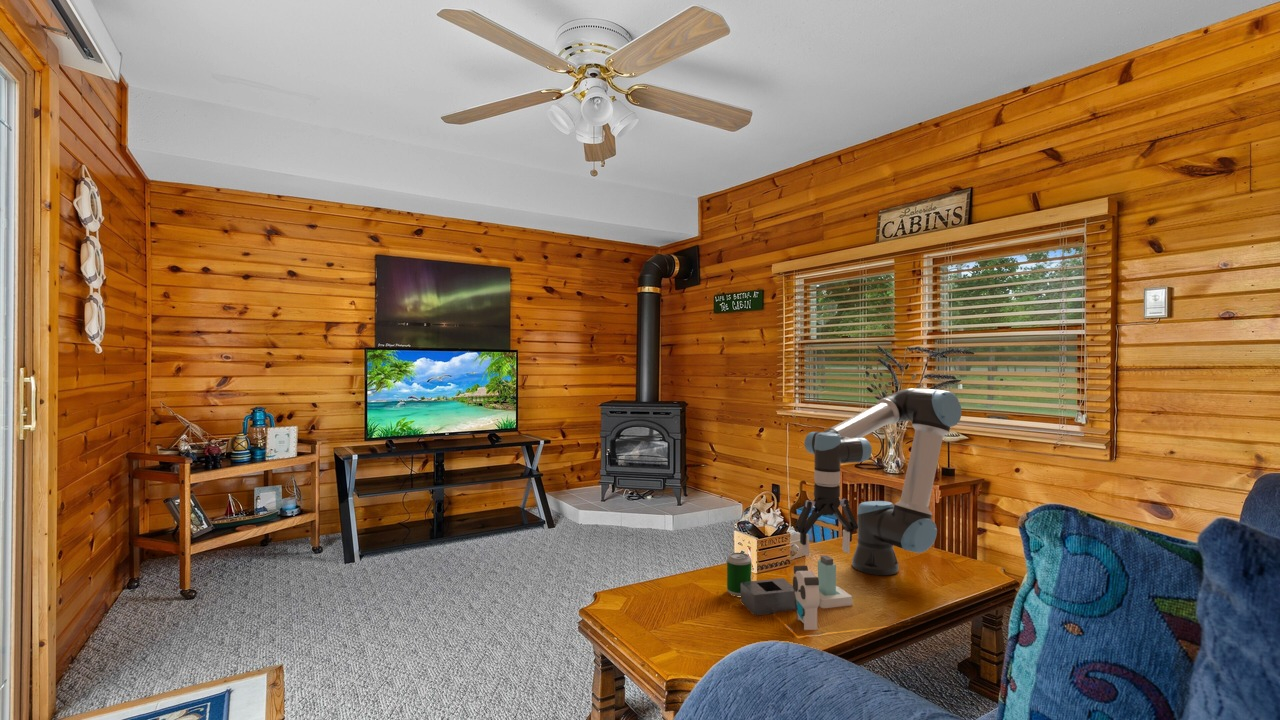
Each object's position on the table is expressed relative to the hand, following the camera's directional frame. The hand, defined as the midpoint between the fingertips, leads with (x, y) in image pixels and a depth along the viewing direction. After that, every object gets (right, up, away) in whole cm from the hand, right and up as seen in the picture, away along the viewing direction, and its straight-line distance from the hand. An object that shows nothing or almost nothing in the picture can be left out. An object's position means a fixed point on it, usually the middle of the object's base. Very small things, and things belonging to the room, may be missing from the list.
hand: (826, 553), depth 186 cm
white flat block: (0, -14, 0) cm, 14 cm away
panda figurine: (-10, -15, -16) cm, 24 cm away
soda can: (-26, -15, +6) cm, 30 cm away
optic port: (-18, -14, -4) cm, 23 cm away
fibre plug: (0, -14, 0) cm, 14 cm away
